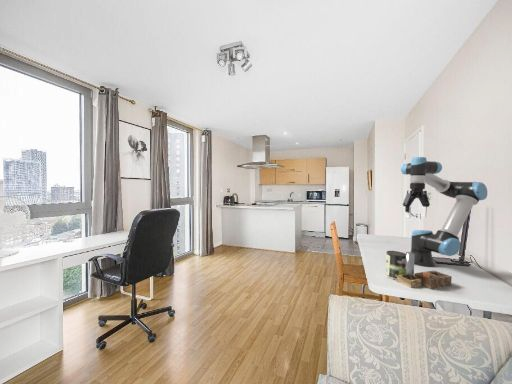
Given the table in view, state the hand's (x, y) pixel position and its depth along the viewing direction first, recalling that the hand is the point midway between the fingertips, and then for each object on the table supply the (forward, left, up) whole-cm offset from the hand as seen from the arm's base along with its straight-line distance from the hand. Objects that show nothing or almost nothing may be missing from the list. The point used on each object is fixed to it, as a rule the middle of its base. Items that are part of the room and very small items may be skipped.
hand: (415, 217), depth 139 cm
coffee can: (+16, +1, -35) cm, 38 cm away
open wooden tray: (+18, +10, -35) cm, 40 cm away
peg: (+18, +10, -34) cm, 39 cm away
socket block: (+5, +14, -35) cm, 38 cm away
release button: (+10, +15, -33) cm, 38 cm away
